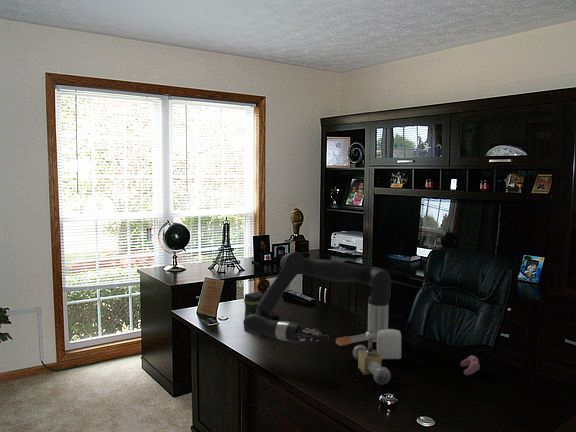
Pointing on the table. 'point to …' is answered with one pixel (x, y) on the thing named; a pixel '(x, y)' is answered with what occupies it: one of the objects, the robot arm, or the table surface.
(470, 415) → the table surface
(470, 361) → the pink curved piece
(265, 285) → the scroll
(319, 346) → the table surface
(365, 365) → the valve
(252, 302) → the coffee jar
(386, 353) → the photo printer
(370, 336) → the lever
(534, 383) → the table surface
